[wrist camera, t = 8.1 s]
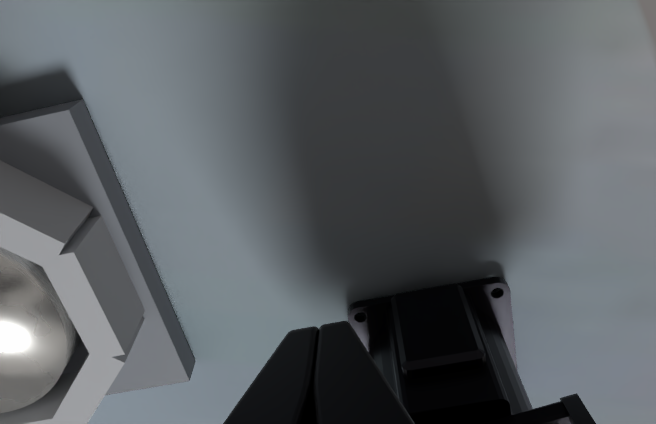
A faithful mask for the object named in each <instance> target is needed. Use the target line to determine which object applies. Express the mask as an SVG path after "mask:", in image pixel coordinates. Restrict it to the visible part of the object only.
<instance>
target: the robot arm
mask: <svg viewBox="0 0 656 424" xmlns="http://www.w3.org/2000/svg"><path fill="white" fill-rule="evenodd" d="M495 288H501V289H500V290H499V291H498V292H491V291H492V290H493V289H495ZM359 312H363V313H365V314H364V315H363V316H357V315H355V314H356V313H359ZM348 320H349V322H347V321H341V322H335V323H330V324H324V325H322V326H321V327H320V328H319V329H318V328H317V327H307V328H302V329H296V330H292V331H290V332H289V333H288V334H287V335H286V336H285V337H284V339H283V340H282V342H281V343H280V345H279V346H278V347H277V349H276V350H275V352H274V353H273V354H272V356H271V357H270V359H269V360H268V361H267V363H266V364H265V366H264V367H263V368H262V370H261V371H260V373H259V374H258V376H257V377H256V378H255V380H254V381H253V383H252V384H251V385H250V387H249V388H248V390H247V391H246V392H245V394H244V395H243V397H242V398H241V399H240V401H239V402H238V404H237V405H236V406H235V408H234V409H233V411H232V412H231V414H230V415H229V416H228V418H227V419H226V421H225V422H224V423H223V424H596V423H595V422H594V420H593V418H592V417H591V415H590V414H589V412H588V410H587V409H586V407H585V406H584V404H583V403H582V401H581V399H580V398H579V396H578V395H577V394H573V395H570V396H566V397H562V398H560V400H561V401H560V402H557V403H553V404H549V405H546V406H542V407H539V408H535V409H533V408H532V406H531V403H530V401H529V399H528V396H527V394H526V391H525V389H524V386H523V384H522V381H521V379H520V377H519V374H518V372H517V361H516V350H515V340H514V329H513V318H512V307H511V296H510V289H509V287H508V285H507V283H506V281H505V280H504V279H503V278H500V277H492V278H486V279H480V280H475V281H469V282H464V283H458V284H449V285H443V286H438V287H432V288H427V289H421V290H416V291H410V292H404V293H399V294H396V295H391V296H386V297H380V298H375V299H369V300H363V301H358V302H355V303H353V304H351V305H350V306H349V308H348Z"/></svg>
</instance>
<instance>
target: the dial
mask: <svg viewBox="0 0 656 424" xmlns="http://www.w3.org/2000/svg"><path fill="white" fill-rule="evenodd" d="M80 341H81V337H80V335H79V333H78V332H77V330H76V328H75V326H74V324H73V322H72V320H71V319H70V317H69V315H68V313H67V311H66V309H65V307H64V306H63V304H62V302H61V300H60V298H59V296H58V294H57V293H56V291H55V289H54V287H53V285H52V283H51V281H50V280H49V278H48V276H47V274H46V272H45V270H44V268H43V267H42V266H40V265H38V264H36V263H34V262H31V261H29V260H27V259H25V258H23V257H21V256H19V255H16V254H14V253H12V252H10V251H8V250H6V249H4V248H1V247H0V413H5V412H10V411H14V410H17V409H20V408H23V407H25V406H28V405H30V404H32V403H34V402H36V401H37V400H39V399H40V398H42V397H43V396H44V395H45V394H47V393H48V392H49V391H50V390H51V389H52V388H53V386H54V385H55V384H56V382H57V381H58V379H59V378H60V376H61V374H62V373H63V371H64V369H65V367H66V366H67V364H68V362H69V360H70V359H71V357H72V355H73V353H74V352H75V350H76V348H77V346H78V345H79V343H80Z"/></svg>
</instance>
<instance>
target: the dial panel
mask: <svg viewBox="0 0 656 424" xmlns="http://www.w3.org/2000/svg"><path fill="white" fill-rule="evenodd" d="M0 247H1V248H4V249H6V250H8V251H10V252H12V253H14V254H16V255H19V256H21V257H23V258H25V259H27V260H29V261H31V262H34V263H36V264H38V265H40V266H42V267H43V268H44V270H45V272H46V274H47V276H48V278H49V280H50V281H51V283H52V285H53V287H54V289H55V291H56V293H57V294H58V296H59V298H60V300H61V302H62V304H63V306H64V307H65V309H66V311H67V313H68V315H69V317H70V319H71V320H72V322H73V324H74V326H75V328H76V330H77V332H78V333H79V335H80V337H81V341H80V343H79V345H78V346H77V348H76V350H75V352H74V353H73V355H72V357H71V359H70V360H69V362H68V364H67V366H66V367H65V369H64V371H63V373H62V374H61V376H60V378H59V379H58V381H57V382H56V384H55V385H54V386H53V388H52V389H51V390H50V391H49V392H48V393H47V394H45V395H44V396H43V397H42V398H40V399H39V400H37V401H36V402H34V403H32V404H30V405H28V406H25V407H23V408H20V409H17V410H14V411H10V412H5V413H0V424H87V423H88V422H89V420H90V418H91V417H92V415H93V414H94V412H95V410H96V409H97V407H98V405H99V404H100V402H101V401H102V399H103V397H104V396H105V395H110V394H116V393H122V392H128V391H134V390H139V389H145V388H151V387H157V386H163V385H169V384H175V383H181V382H186V381H190V378H191V374H192V371H193V368H194V364H195V359H194V357H193V354H192V352H191V350H190V347H189V345H188V343H187V340H186V338H185V336H184V333H183V331H182V329H181V326H180V324H179V322H178V319H177V317H176V315H175V312H174V310H173V308H172V305H171V303H170V301H169V298H168V296H167V294H166V291H165V289H164V287H163V285H162V282H161V280H160V278H159V275H158V273H157V271H156V268H155V266H154V264H153V261H152V259H151V257H150V254H149V252H148V250H147V247H146V245H145V243H144V240H143V238H142V236H141V233H140V231H139V229H138V226H137V224H136V222H135V219H134V217H133V215H132V212H131V210H130V208H129V205H128V203H127V201H126V198H125V196H124V194H123V192H122V189H121V187H120V185H119V182H118V180H117V178H116V175H115V173H114V171H113V168H112V166H111V164H110V161H109V159H108V157H107V154H106V152H105V150H104V147H103V145H102V143H101V140H100V138H99V136H98V133H97V131H96V129H95V126H94V124H93V122H92V119H91V117H90V115H89V112H88V110H87V108H86V106H85V103H84V101H83V99H81V100H76V101H72V102H68V103H63V104H59V105H54V106H50V107H46V108H41V109H37V110H32V111H28V112H24V113H19V114H15V115H10V116H6V117H2V118H0Z"/></svg>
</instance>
